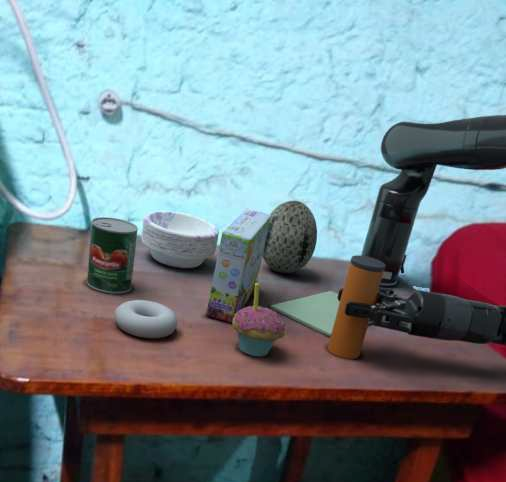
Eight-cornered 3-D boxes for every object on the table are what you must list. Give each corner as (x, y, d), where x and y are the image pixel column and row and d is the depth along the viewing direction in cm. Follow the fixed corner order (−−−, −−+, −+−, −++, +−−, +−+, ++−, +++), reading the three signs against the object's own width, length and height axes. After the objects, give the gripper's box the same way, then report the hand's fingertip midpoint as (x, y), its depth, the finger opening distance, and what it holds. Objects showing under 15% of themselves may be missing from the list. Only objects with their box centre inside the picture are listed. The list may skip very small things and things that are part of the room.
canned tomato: (126, 279, 137) (133, 219, 131) (135, 295, 131) (142, 233, 125) (83, 276, 134) (88, 215, 128) (89, 292, 128) (95, 229, 122)
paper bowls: (211, 279, 146) (218, 239, 142) (134, 264, 144) (139, 224, 140) (214, 256, 159) (221, 219, 155) (144, 243, 157) (148, 205, 153)
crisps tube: (339, 342, 131) (363, 253, 123) (365, 354, 128) (391, 265, 120) (321, 348, 127) (345, 257, 119) (347, 361, 124) (374, 269, 116)
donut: (160, 348, 114) (185, 327, 122) (163, 328, 112) (188, 308, 121) (102, 329, 116) (130, 310, 124) (103, 309, 114) (132, 291, 122)
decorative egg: (288, 262, 166) (304, 194, 159) (318, 281, 158) (335, 211, 151) (244, 261, 160) (258, 191, 152) (273, 282, 152) (289, 208, 144)
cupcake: (242, 362, 115) (257, 289, 109) (218, 339, 121) (231, 268, 115) (288, 360, 119) (305, 289, 113) (263, 338, 125) (278, 269, 119)
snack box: (235, 325, 128) (252, 239, 120) (204, 316, 128) (218, 230, 121) (257, 289, 146) (273, 212, 139) (230, 282, 147) (244, 205, 139)
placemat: (329, 293, 153) (330, 290, 153) (386, 318, 146) (387, 316, 146) (270, 308, 139) (270, 305, 138) (329, 337, 132) (330, 333, 132)
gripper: (432, 280, 129) (339, 265, 127) (458, 311, 117) (356, 294, 114) (419, 320, 133) (329, 306, 130) (443, 354, 121) (344, 339, 118)
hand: (342, 301), depth 122 cm, fingers closed on crisps tube, 5 cm apart
